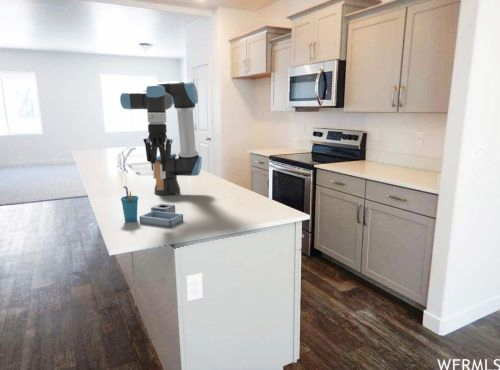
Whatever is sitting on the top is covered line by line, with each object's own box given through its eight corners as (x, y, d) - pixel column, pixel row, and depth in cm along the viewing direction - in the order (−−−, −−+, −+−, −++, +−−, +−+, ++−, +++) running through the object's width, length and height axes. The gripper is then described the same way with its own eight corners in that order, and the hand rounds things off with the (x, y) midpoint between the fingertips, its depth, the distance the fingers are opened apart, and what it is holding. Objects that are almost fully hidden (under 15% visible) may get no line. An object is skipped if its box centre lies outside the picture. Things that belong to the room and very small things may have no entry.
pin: (155, 189, 157) (153, 160, 154) (159, 188, 159) (157, 159, 157) (160, 190, 155) (159, 160, 153) (164, 189, 158) (163, 159, 156)
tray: (139, 222, 159) (139, 216, 158) (153, 216, 168) (153, 210, 168) (170, 227, 153) (170, 220, 153) (183, 220, 162) (183, 214, 162)
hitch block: (151, 215, 170) (151, 207, 169) (161, 211, 177) (161, 203, 176) (165, 217, 167) (165, 209, 166) (175, 213, 174) (175, 205, 173)
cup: (117, 217, 167) (115, 185, 164) (134, 214, 171) (132, 184, 168) (126, 225, 155) (123, 191, 152) (144, 222, 160) (142, 189, 157)
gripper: (135, 123, 151) (138, 178, 156) (168, 124, 146) (170, 181, 150) (146, 123, 158) (149, 175, 163) (178, 123, 152) (180, 178, 157)
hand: (159, 178), depth 156 cm, fingers closed on pin, 3 cm apart
